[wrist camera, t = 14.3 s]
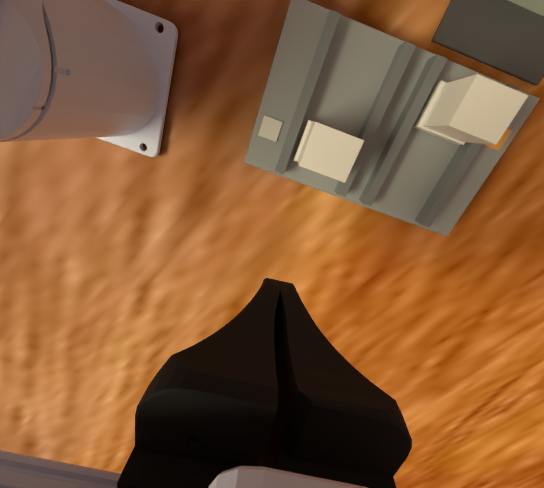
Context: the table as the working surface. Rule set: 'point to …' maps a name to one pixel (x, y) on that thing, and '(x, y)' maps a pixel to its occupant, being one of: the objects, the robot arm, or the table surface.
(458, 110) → the tab
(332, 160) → the tab
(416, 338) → the table surface
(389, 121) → the switch panel
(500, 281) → the table surface
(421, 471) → the table surface
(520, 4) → the driver
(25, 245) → the table surface
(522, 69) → the tool mat
